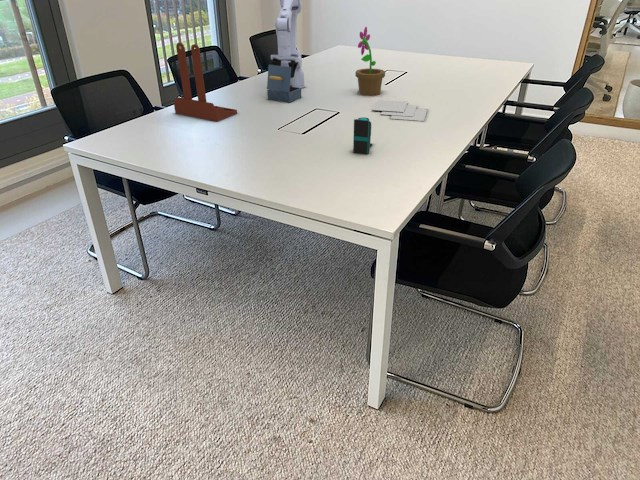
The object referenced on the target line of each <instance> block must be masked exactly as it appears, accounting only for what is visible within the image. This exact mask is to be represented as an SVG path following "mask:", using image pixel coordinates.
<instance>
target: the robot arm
mask: <svg viewBox="0 0 640 480" xmlns="http://www.w3.org/2000/svg"><path fill="white" fill-rule="evenodd" d="M279 4H280V8H281V9H280V10H279V13H278V16H277V18H275V21H274V27H275V32H276V34H275V35H276V36H277V37H276V38H277V39H276V40H277V54H271V55H270V60H271V65H277V66H285V67H291V79H290V85H292V87H297V88H301V89H303V88H306V86H305V72H304V70H303V69H302V66H303V60H302V54H301V52H300V51H299V50H298V49H297V23H298V22H297V20H298V14H301V12H302V0H279Z"/></svg>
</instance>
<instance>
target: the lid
mask: <svg viewBox="0 0 640 480" xmlns="http://www.w3.org/2000/svg"><path fill="white" fill-rule="evenodd" d="M290 79H291V67H285V66H277V65H273V64H268V68H267V82H266V83H267V84H266V90H268V89H270V90H276V91H283V92H289V91H290Z"/></svg>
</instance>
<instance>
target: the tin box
mask: <svg viewBox="0 0 640 480" xmlns="http://www.w3.org/2000/svg"><path fill="white" fill-rule="evenodd" d="M292 89H293V91H291V92H289V93H288V92H281V91H276V90H270V89H266V90H267V100H270V101H276V102H282V103H289V104H290V103H292V102H295V101H297V100H299V99H301V98H302V88H297V87H292Z"/></svg>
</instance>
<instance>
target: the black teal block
mask: <svg viewBox="0 0 640 480" xmlns="http://www.w3.org/2000/svg"><path fill="white" fill-rule="evenodd" d="M371 136H372V122H371V121H370V118H369V117H363V116H362V117H358V118H354V119H353V142H352V153H354V154H360V155H369V153H370V150H371V147H372V146H373V143H371Z"/></svg>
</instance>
